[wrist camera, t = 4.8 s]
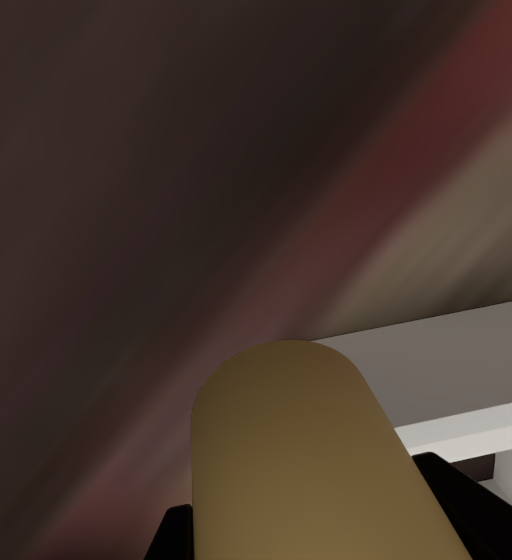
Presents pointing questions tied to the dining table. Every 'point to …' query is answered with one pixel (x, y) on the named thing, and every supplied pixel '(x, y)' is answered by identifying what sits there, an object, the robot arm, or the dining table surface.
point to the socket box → (444, 384)
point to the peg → (306, 465)
